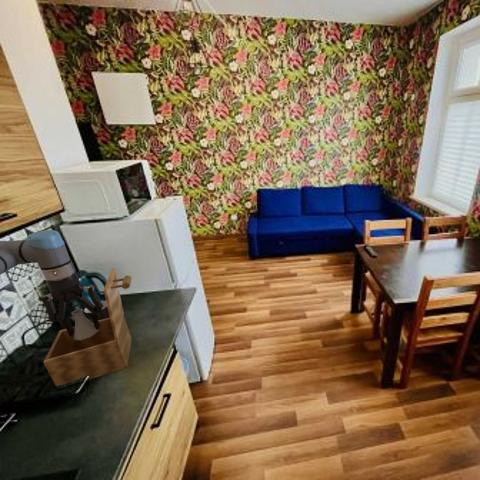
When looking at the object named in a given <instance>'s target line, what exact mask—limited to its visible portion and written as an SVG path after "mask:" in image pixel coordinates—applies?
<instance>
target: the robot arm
mask: <svg viewBox="0 0 480 480" xmlns="http://www.w3.org/2000/svg"><path fill="white" fill-rule="evenodd" d="M25 238H26V239H18V240H16V239H15V240H0V276H1V275H3V274H4V273H7V272H8V271H10V270H11V269H13V268H15V267H16V266H19V265H27V264H35V263H37V265H38V267H39V269H40V271H41V273H42V275H43V277H44V279H45V280H46V285H47V286H48V288H49V290H50V293H48V294H47V293H46V294H45V293H44V294H43V295H42V296H41V298H40V301H41V302H42V303H43V304H44V307H45V309H46V312H47V316H48V319H49V322H50V323H55V322H58V323H59V325H60V327H61V329H62V330H64V329H66V330H67V332H68V334H69V336H73V334H74V329H73V327H74V326H73V324H72V323H71V320H70V318H69V316H66V306H67V302H69V301H76V302H78V303H80V304H81V305H82V306H83V307H84V308H87V309H88V310H89V311H90V312H91V314H90V316H91V319H92V321H93V323H94V326H95V328H96V329H99V326H100V323H99V321H98V320H99V319H100V315H99V312H98V311H101V310H102V307H103V305H102V303H101V301H102V300H100V299H101V298H100V297H99V296H98V294H97V293H96V291H95V285H94V284H90V285H83V284H82V283H81V280H80V278H79V276H78V273H77V272H76V269H75V266H74V264H73V262H72V259H71V258H70V255H69V253H68V250H67V248H66V247H67V246H66V245H65V241H64V240H63V238H62V235H61V234H60V232H59V231H57V230H54V229H46V230H41V231H40V230H39V231H35V232H32V233H30V234H28V235H26V237H25ZM83 291H85V293H87V294H88V297H89V298H90V299H91V300H89V299H88V297H86V296H85V294H84V293H83ZM53 298H54V299H57V300H58V312H57V311H56V309H55V304H54V301H53ZM93 303H94V304H93ZM57 313H58V314H57Z"/></svg>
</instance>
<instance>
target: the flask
mask: <svg viewBox="0 0 480 480" xmlns="http://www.w3.org/2000/svg"><path fill="white" fill-rule="evenodd" d="M70 314H71V316H73V318H74V327H75V332H74V339H76V340H83V339H86V338H88V337H91V336H92V335H94V334H95V333H97V332H98V329H96V328H95V326H94V323H92V322H91V321H90V319H89V318H88V317H87V316H86V314H84V309H83V308H77V309H75V310H73V311H71V313H70Z"/></svg>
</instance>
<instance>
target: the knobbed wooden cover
mask: <svg viewBox="0 0 480 480" xmlns="http://www.w3.org/2000/svg"><path fill="white" fill-rule="evenodd" d="M118 282H122V283H121V284H118ZM131 283H132V276H130V275H125V276H123V278H117V274H116V269H115V267H113V268H111V269H110V272H109V275H108V278H107V279H106V282H105V285H104V288H103V294H104V298H105V301H106V303H107V307H108V311H109V316H110V320H111V324H112V329H113V333H114V337H115V340H118V337H119V332H120V328H121V323H122V319H123V316H124V315H125V314H124V313H125V312H124V308H123V302H122V298H121V293H120V288H122V289H124V290H127V289H129V288H130V287H131Z"/></svg>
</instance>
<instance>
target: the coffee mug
mask: <svg viewBox="0 0 480 480" xmlns="http://www.w3.org/2000/svg"><path fill="white" fill-rule="evenodd" d="M100 301H101V303H102V305H103V307H102V310H101V311H98V312H99V315H100V319H99V320H103V319H107V318H110V316H109V311H108V307H107V303H106V300H100ZM92 304H94V303H93V302H92ZM83 313H85V316H86V317H87V319H89V320H90V321H91V322H93V321H92V319H91V316H90V314H91V312H90V311H89V310H88V309H87V308H86V307H84V309H83ZM99 320H98V321H99Z"/></svg>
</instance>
